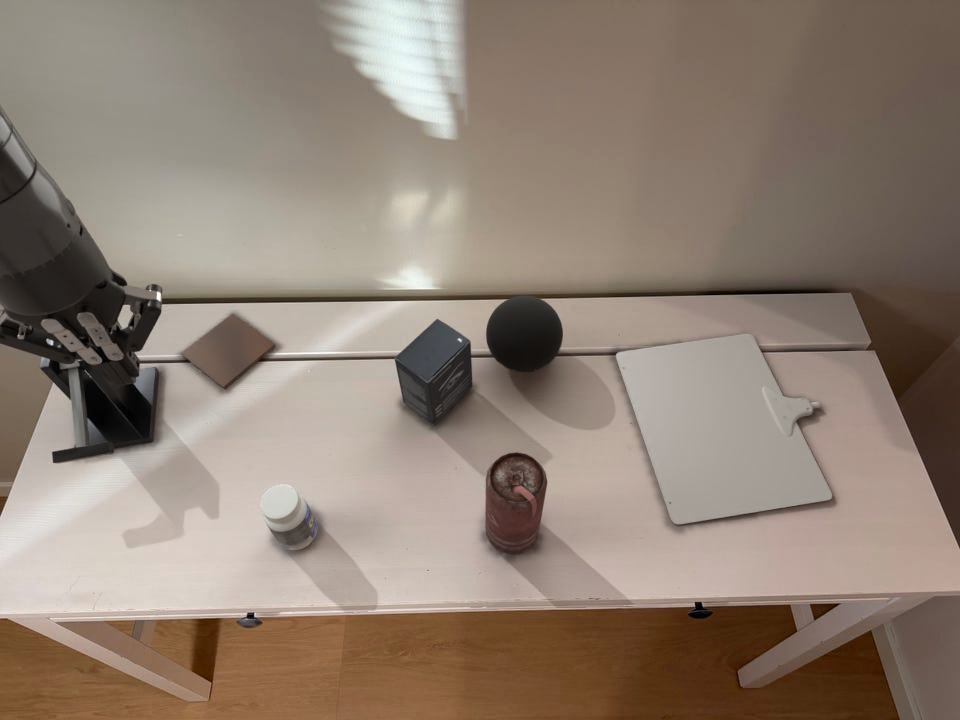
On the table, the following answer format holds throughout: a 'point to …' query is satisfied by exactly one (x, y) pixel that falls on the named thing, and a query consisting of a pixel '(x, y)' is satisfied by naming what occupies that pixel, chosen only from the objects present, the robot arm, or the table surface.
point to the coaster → (228, 350)
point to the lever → (79, 421)
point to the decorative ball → (524, 333)
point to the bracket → (113, 403)
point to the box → (435, 371)
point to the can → (514, 502)
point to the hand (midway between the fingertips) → (128, 376)
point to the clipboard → (720, 429)
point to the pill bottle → (288, 517)
